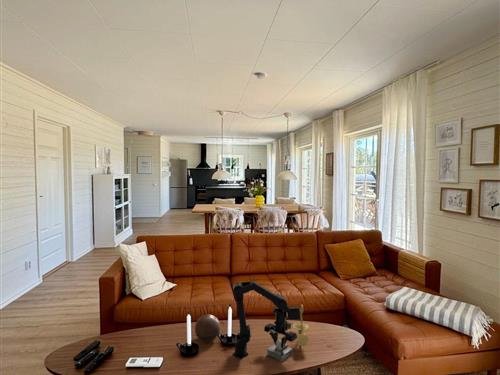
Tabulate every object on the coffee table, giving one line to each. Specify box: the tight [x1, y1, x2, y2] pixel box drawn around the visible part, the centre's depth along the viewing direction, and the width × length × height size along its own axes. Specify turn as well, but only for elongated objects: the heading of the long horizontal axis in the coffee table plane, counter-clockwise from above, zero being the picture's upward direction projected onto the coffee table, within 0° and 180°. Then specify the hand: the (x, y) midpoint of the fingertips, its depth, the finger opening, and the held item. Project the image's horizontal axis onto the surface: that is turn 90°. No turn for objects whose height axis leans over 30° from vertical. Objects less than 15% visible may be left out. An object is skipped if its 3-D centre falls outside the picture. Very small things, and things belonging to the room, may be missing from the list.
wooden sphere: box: [194, 314, 221, 343], centre depth 186 cm, size 15×15×15 cm
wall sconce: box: [292, 304, 309, 347], centre depth 182 cm, size 14×10×25 cm
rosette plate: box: [266, 343, 293, 362], centre depth 173 cm, size 10×10×4 cm
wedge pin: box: [276, 338, 284, 352], centre depth 173 cm, size 3×3×8 cm
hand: (279, 347), depth 173 cm, fingers open, 4 cm apart
